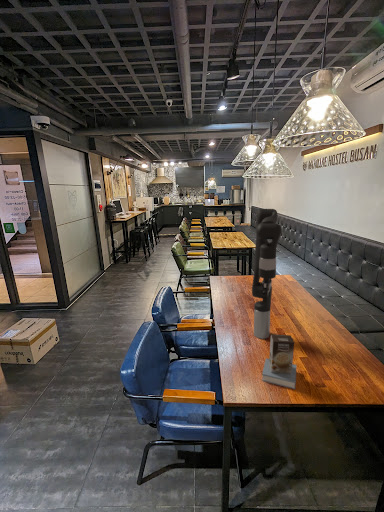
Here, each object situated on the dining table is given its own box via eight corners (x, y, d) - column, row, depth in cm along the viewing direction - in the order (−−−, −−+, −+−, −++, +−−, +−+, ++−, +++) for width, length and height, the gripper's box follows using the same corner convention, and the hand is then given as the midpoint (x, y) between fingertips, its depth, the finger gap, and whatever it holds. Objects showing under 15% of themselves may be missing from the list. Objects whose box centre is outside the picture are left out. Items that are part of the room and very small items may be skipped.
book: (265, 365, 123) (265, 358, 122) (295, 372, 118) (296, 364, 117) (261, 381, 113) (262, 373, 112) (295, 389, 107) (295, 382, 106)
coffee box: (271, 373, 112) (272, 341, 108) (268, 363, 118) (270, 333, 114) (292, 374, 110) (294, 342, 107) (288, 365, 117) (290, 334, 113)
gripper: (261, 262, 121) (260, 293, 125) (256, 270, 109) (255, 304, 112) (277, 263, 118) (276, 295, 122) (274, 272, 106) (273, 306, 109)
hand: (266, 299), depth 117 cm, fingers open, 8 cm apart
